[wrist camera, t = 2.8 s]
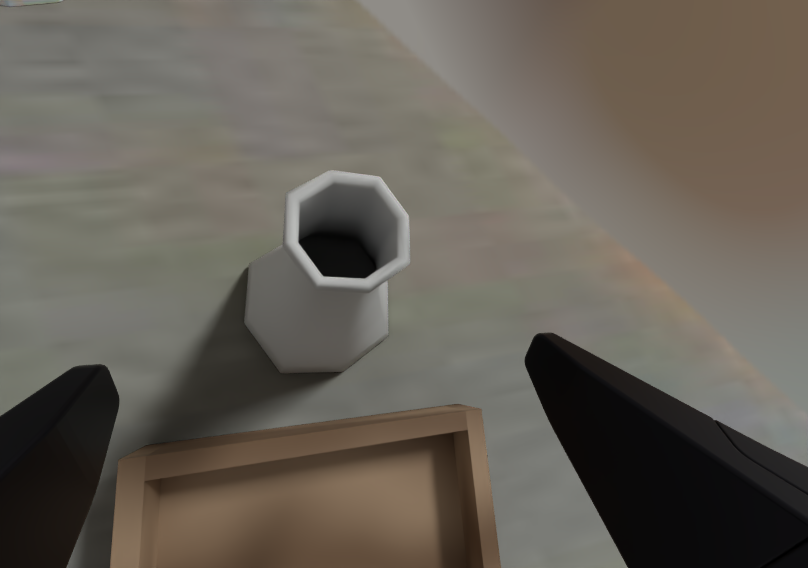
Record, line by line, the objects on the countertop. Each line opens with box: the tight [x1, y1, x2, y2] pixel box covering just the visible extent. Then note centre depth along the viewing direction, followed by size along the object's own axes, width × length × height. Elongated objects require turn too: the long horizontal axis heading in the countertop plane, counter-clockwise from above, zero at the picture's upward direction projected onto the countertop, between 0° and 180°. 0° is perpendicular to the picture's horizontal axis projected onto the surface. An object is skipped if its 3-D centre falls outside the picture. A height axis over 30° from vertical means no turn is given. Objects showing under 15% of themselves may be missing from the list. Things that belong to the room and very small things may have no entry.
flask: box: [244, 170, 410, 373], centre depth 13 cm, size 7×7×10 cm
